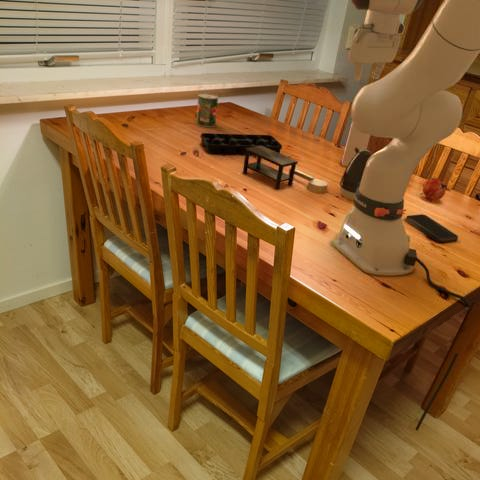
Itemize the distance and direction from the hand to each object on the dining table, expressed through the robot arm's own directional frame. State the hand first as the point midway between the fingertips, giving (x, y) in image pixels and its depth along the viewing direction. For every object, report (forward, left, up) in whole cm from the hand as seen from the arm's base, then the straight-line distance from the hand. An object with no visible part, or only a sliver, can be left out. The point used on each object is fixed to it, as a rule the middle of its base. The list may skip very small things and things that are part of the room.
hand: (366, 79), depth 140 cm
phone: (-30, -16, -33) cm, 48 cm away
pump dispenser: (-8, -1, -33) cm, 34 cm away
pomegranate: (-8, -30, -33) cm, 46 cm away
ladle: (+2, +11, -33) cm, 35 cm away
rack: (+6, +23, -33) cm, 41 cm away
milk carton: (+22, -15, -33) cm, 42 cm away
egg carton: (+34, +25, -33) cm, 53 cm away
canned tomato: (+63, +32, -33) cm, 78 cm away
